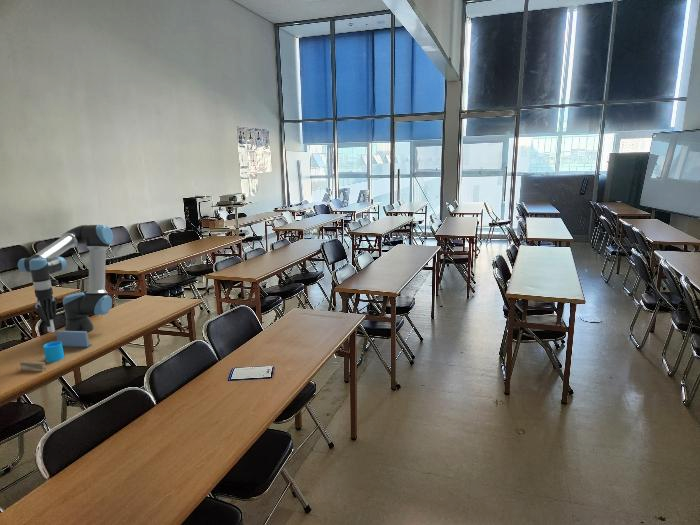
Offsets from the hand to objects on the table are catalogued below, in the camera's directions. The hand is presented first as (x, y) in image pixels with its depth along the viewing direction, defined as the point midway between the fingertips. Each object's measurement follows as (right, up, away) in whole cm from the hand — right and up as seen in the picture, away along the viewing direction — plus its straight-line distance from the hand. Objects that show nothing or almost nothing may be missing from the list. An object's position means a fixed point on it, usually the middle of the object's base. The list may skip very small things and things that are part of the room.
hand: (51, 331), depth 234 cm
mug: (0, -14, +3) cm, 15 cm away
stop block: (-2, -17, -11) cm, 21 cm away
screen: (+2, -11, +16) cm, 20 cm away
